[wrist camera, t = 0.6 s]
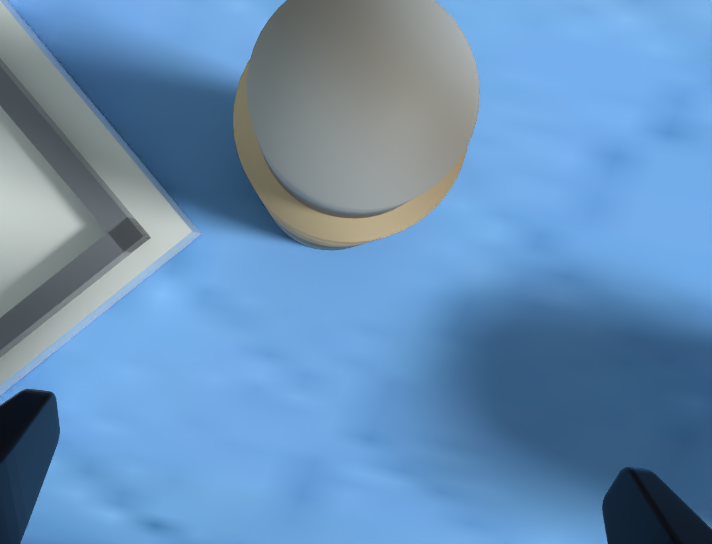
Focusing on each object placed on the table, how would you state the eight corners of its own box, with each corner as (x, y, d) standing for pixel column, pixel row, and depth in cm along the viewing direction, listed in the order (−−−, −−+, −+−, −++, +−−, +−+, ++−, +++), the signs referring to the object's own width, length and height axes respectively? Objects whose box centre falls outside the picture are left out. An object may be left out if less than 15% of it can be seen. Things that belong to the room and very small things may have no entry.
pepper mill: (321, 278, 24) (344, 295, 11) (233, 170, 23) (155, 65, 11) (425, 192, 24) (562, 116, 11) (340, 85, 24) (385, -113, 11)
